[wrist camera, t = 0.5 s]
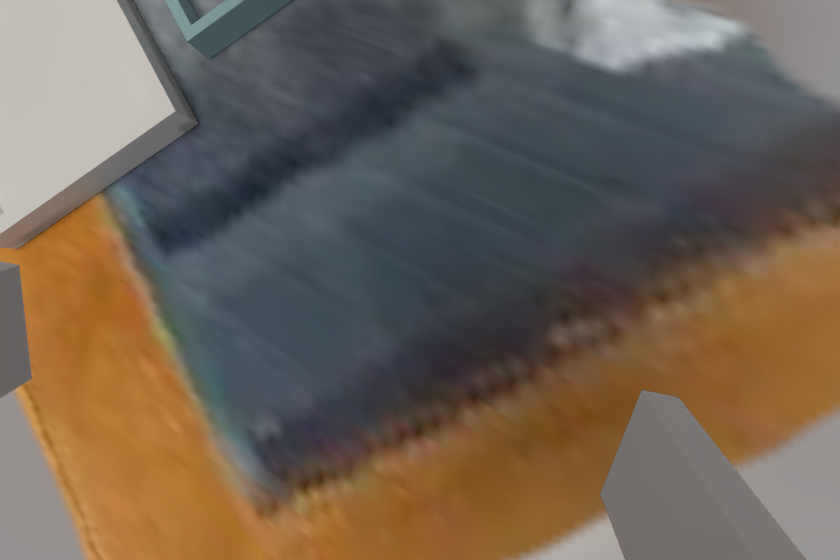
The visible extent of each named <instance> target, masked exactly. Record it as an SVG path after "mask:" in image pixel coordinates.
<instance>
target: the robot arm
mask: <svg viewBox="0 0 840 560" xmlns="http://www.w3.org/2000/svg"><path fill="white" fill-rule="evenodd" d="M30 379H32V376H31V367H30V358H29V349H28V340H27V332H26V323H25V314H24V305H23V296H22V287H21V278H20V269H19V265H15V264H10V263H5V262H0V398H1V397H2V396H4V395H6V394H8V393H9V392H11V391H12V390H14V389H16V388H17V387H19V386H21V385H22V384H24V383H25V382H27V381H29V380H30ZM600 495H601V497H602V500H603V503H604V505H605V508H606V511H607V513H608V516H609V519H610V521H611V524H612V526H613V529H614V532H615V534H616V537H617V540H618V542H619V545H620V548H621V550H622V553H623V556H624V558H625V560H806V559H805V558H804V556H803V555H802V554H801V552H800V551H799V550H798V549H797V547H796V546H795V545H794V544H793V542H792V541H791V540H790V539H789V537H788V536H787V535H786V533H785V532H784V531H783V530H782V528H781V527H780V526H779V524H778V523H777V522H776V521H775V519H774V518H773V517H772V516H771V514H770V513H769V512H768V510H767V509H766V508H765V507H764V505H763V504H762V503H761V502H760V500H759V499H758V498H757V496H756V495H755V494H754V493H753V491H752V490H751V489H750V488H749V486H748V485H747V484H746V482H745V481H744V480H743V479H742V477H741V476H740V475H739V474H738V472H737V471H736V470H735V468H734V467H733V466H732V465H731V463H730V462H729V461H728V460H727V458H726V457H725V456H724V454H723V453H722V452H721V451H720V449H719V448H718V447H717V446H716V444H715V443H714V442H713V440H712V439H711V438H710V437H709V435H708V434H707V433H706V432H705V430H704V429H703V428H702V426H701V425H700V424H699V423H698V421H697V420H696V419H695V418H694V416H693V415H692V414H691V412H690V411H689V410H688V409H687V407H686V406H685V405H684V404H683V402H682V401H681V400H680V398H679V397H674V396H669V395H664V394H659V393H654V392H649V391H644V390H642V391H641V393H640V396H639V398H638V401H637V403H636V406H635V408H634V411H633V413H632V416H631V418H630V421H629V423H628V426H627V428H626V431H625V433H624V436H623V438H622V441H621V443H620V446H619V448H618V451H617V453H616V456H615V458H614V461H613V463H612V466H611V468H610V471H609V473H608V476H607V478H606V481H605V484H604V486H603V489H602V491H601V494H600Z"/></svg>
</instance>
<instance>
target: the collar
mask: <svg viewBox="0 0 840 560" xmlns="http://www.w3.org/2000/svg"><path fill="white" fill-rule="evenodd" d="M165 1H166V3H167V5H168V7H169V9H170V11H171V12H172V14H173V16H174V18H175V20H176V22H177V23H178V25H179V27H180V29H181V31H182V33H183V35H184V36H185V38H186V40H187V42H189V43H190V44H191V45H192V46H194V47H195V48H196V49H197V50H199V51H200V52H201V53H202V54H204V55H205V56H206V57H207V58H209V59H210V58H212V57H213V56H215V55H216V54H217V53H219V52H220V51H222V50H223V49H224V48H226V47H227V46H229V45H230V44H231V43H233V42H234V41H236V40H237V39H238V38H240V37H241V36H243V35H244V34H245V33H247V32H248V31H250V30H251V29H252V28H254V27H255V26H257V25H258V24H260V23H261V22H262V21H264V20H265V19H267V18H268V17H269V16H271V15H272V14H274V13H275V12H276V11H278V10H279V9H281V8H282V7H283V6H285V5H286V4H288V3H289V2H290V1H292V0H225V1H224V2H222V3H221V4H220V5H218V6H217V7H216V8H214V9H213V10H211V11H210V12H209V13H207V14H206V15H205V16H203V17H202V18H200V19H199V17H198V16H197V14H196V12H195V10H194V8H193V6H192V5H191V3H190V1H189V0H165Z"/></svg>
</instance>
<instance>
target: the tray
mask: <svg viewBox="0 0 840 560" xmlns="http://www.w3.org/2000/svg"><path fill="white" fill-rule="evenodd" d="M196 125H198V122H197V120H196V118H195V116H194V114H193V112H192V111H191V109H190V107H189V105H188V103H187V101H186V99H185V97H184V96H183V94H182V92H181V90H180V88H179V86H178V84H177V83H176V81H175V79H174V77H173V75H172V73H171V71H170V69H169V68H168V66H167V64H166V62H165V60H164V58H163V56H162V54H161V53H160V51H159V49H158V47H157V45H156V43H155V41H154V40H153V38H152V36H151V34H150V32H149V30H148V28H147V26H146V25H145V23H144V21H143V19H142V17H141V15H140V13H139V12H138V10H137V8H136V6H135V4H134V2H133V0H0V247H2V248H13V249H18V248H19V247H21V246H22V245H24V244H25V243H27V242H28V241H30V240H31V239H32V238H34V237H35V236H37V235H38V234H40V233H41V232H43V231H44V230H46V229H47V228H48V227H50V226H51V225H53V224H54V223H56V222H57V221H59V220H60V219H61V218H63V217H64V216H66V215H67V214H69V213H70V212H72V211H73V210H74V209H76V208H77V207H79V206H80V205H82V204H83V203H85V202H86V201H88V200H89V199H90V198H92V197H93V196H95V195H96V194H98V193H99V192H101V191H102V190H103V189H105V188H106V187H108V186H109V185H111V184H112V183H114V182H115V181H116V180H118V179H119V178H121V177H122V176H124V175H125V174H127V173H128V172H129V171H131V170H132V169H134V168H135V167H137V166H138V165H140V164H141V163H143V162H144V161H145V160H147V159H148V158H150V157H151V156H153V155H154V154H156V153H157V152H158V151H160V150H161V149H163V148H164V147H166V146H167V145H169V144H170V143H171V142H173V141H174V140H176V139H177V138H179V137H180V136H182V135H183V134H185V133H186V132H187V131H189V130H190V129H192V128H193V127H195V126H196Z"/></svg>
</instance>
